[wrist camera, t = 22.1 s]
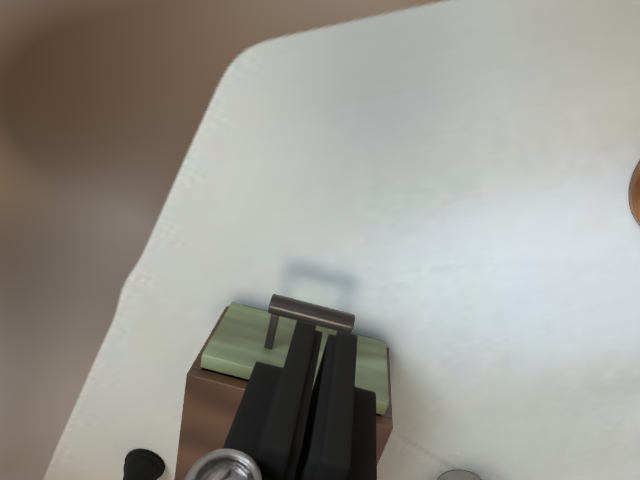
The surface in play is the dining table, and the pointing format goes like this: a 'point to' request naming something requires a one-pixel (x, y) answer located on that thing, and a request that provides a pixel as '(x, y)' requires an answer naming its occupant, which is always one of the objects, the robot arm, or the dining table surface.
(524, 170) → the dining table surface
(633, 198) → the coaster
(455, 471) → the cup
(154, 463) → the chess piece
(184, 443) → the cabinet
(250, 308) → the drawer
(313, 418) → the robot arm
